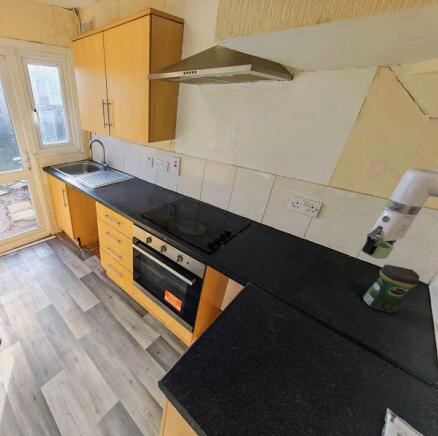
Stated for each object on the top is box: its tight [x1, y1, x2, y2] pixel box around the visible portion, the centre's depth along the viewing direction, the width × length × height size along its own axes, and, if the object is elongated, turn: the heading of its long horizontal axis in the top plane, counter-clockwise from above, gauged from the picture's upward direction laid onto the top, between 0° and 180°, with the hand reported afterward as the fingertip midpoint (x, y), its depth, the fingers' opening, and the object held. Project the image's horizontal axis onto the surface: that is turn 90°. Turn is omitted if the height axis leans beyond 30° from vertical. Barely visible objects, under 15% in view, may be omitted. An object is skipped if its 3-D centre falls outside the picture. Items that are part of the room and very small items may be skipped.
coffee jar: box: [362, 264, 420, 314], centre depth 87 cm, size 10×8×19 cm
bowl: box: [360, 237, 394, 260], centre depth 81 cm, size 7×7×5 cm
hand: (374, 251), depth 82 cm, fingers closed on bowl, 7 cm apart
